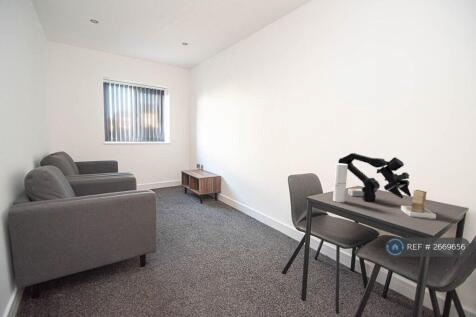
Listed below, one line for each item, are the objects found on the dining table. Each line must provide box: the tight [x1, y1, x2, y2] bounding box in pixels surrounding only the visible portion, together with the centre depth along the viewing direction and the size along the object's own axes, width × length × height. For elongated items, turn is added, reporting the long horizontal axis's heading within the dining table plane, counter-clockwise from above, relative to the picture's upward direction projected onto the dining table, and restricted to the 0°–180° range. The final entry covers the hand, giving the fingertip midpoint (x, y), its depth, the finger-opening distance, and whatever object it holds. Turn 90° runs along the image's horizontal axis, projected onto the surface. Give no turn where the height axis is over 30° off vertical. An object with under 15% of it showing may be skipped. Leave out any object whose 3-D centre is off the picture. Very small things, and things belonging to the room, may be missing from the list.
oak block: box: [411, 189, 427, 213], centre depth 129 cm, size 4×4×13 cm
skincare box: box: [347, 188, 364, 197], centre depth 167 cm, size 6×4×12 cm
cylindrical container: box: [332, 162, 348, 203], centre depth 151 cm, size 7×7×25 cm
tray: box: [400, 205, 437, 220], centre depth 130 cm, size 12×12×3 cm
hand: (406, 197), depth 134 cm, fingers open, 9 cm apart
